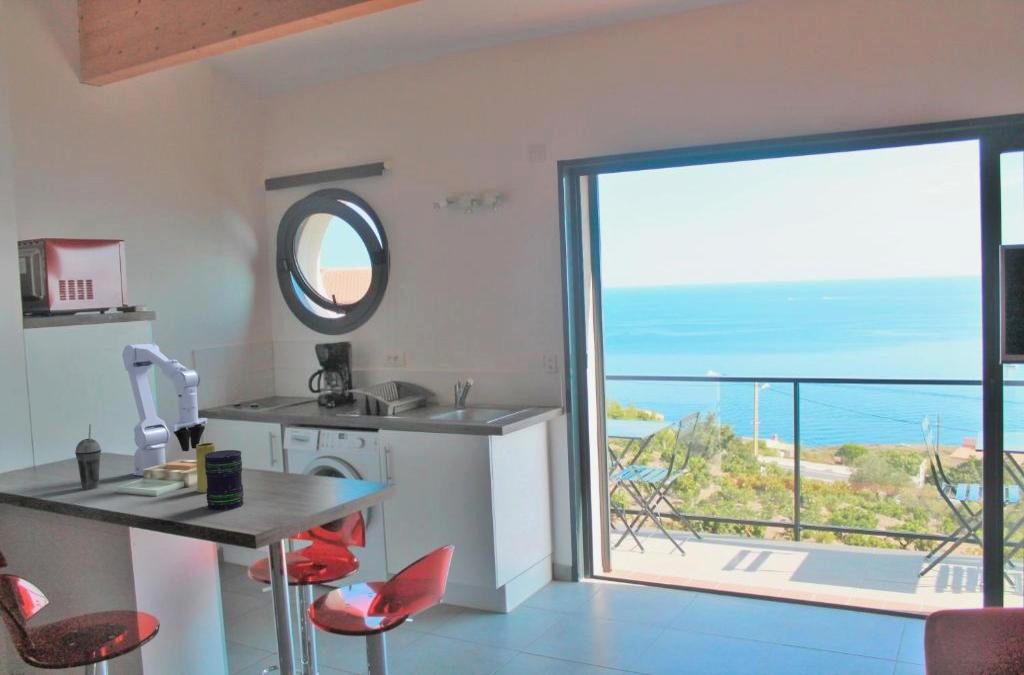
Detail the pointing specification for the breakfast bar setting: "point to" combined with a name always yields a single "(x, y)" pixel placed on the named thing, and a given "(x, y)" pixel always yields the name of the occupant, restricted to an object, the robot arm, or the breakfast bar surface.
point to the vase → (202, 465)
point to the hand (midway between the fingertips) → (190, 449)
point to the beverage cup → (88, 462)
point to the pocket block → (173, 473)
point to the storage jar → (224, 480)
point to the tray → (150, 487)
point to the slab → (181, 466)
